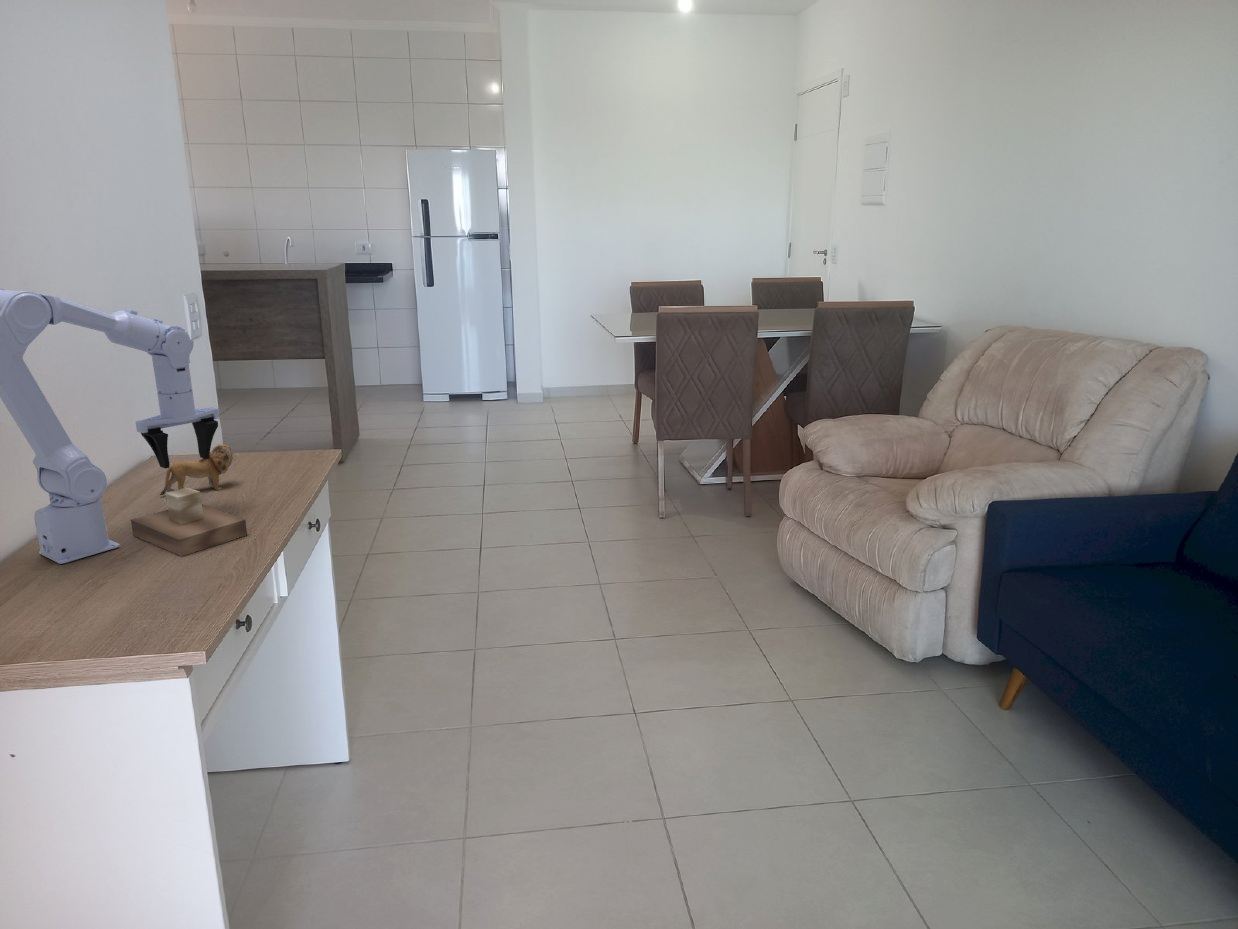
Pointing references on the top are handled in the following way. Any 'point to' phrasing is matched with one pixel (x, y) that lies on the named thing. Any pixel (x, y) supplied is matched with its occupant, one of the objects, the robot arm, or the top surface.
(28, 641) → the top surface
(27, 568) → the top surface
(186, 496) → the birch block
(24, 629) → the top surface
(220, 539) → the walnut plinth
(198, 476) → the lion figurine
